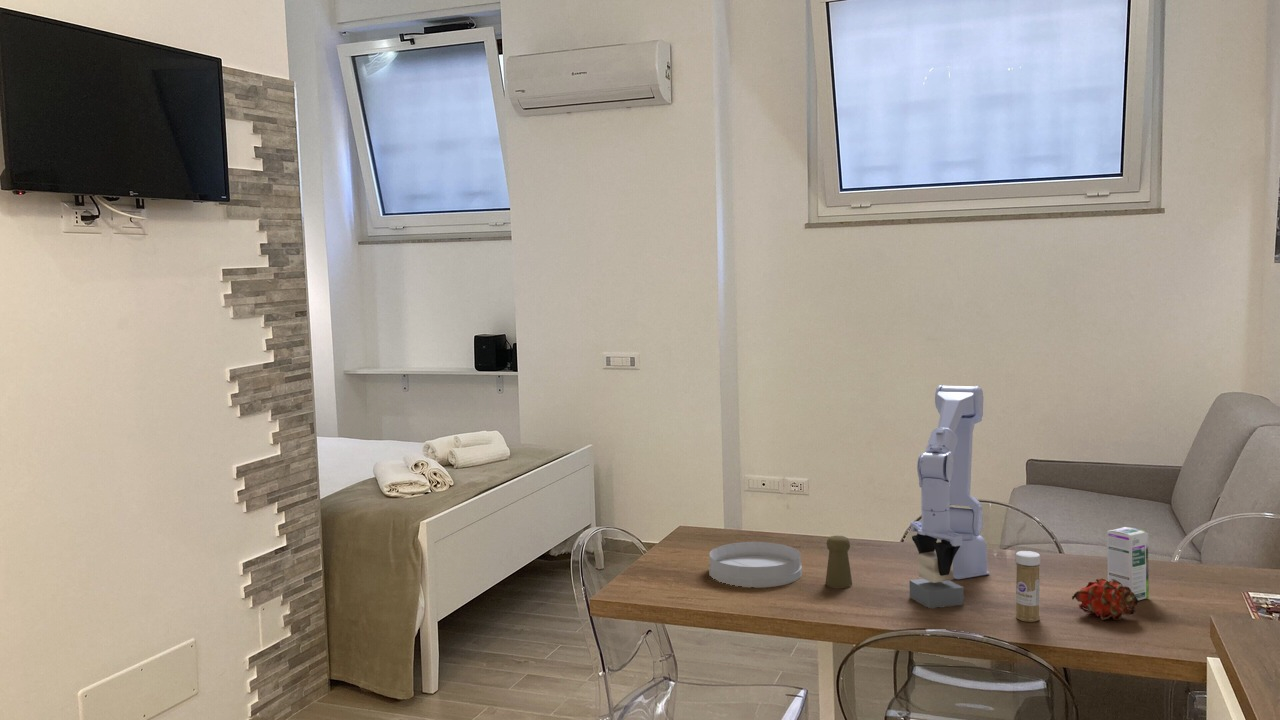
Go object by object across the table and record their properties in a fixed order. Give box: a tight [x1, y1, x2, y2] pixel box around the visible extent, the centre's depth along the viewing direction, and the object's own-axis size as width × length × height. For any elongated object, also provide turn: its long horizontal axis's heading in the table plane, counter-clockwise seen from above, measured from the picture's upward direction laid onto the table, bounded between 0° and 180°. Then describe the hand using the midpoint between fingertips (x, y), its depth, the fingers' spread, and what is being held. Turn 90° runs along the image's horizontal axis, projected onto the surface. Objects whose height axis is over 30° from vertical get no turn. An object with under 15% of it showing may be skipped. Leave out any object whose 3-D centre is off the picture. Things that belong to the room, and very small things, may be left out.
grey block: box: [909, 578, 964, 609], centre depth 203 cm, size 8×8×4 cm
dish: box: [708, 541, 803, 589], centre depth 227 cm, size 22×22×5 cm
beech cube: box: [917, 551, 954, 583], centre depth 203 cm, size 5×5×5 cm
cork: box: [825, 535, 853, 589], centre depth 216 cm, size 6×6×11 cm
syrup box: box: [1106, 526, 1150, 601], centre depth 201 cm, size 6×6×14 cm
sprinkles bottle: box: [1015, 550, 1041, 623], centre depth 190 cm, size 5×5×13 cm
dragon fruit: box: [1071, 578, 1139, 621], centre depth 190 cm, size 8×8×12 cm
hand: (935, 571), depth 203 cm, fingers closed on beech cube, 5 cm apart
